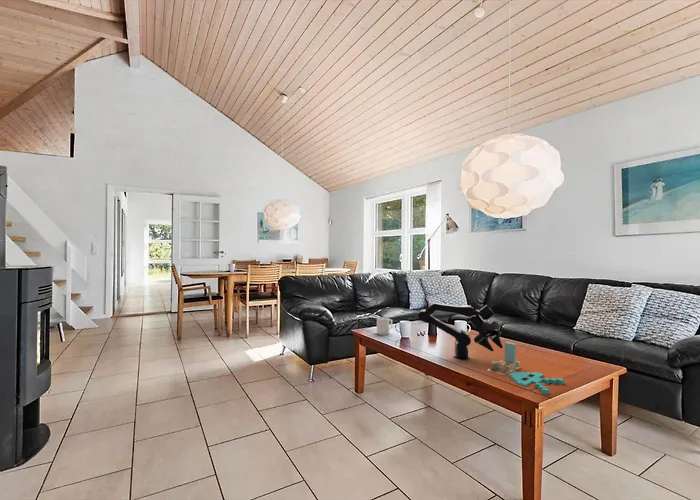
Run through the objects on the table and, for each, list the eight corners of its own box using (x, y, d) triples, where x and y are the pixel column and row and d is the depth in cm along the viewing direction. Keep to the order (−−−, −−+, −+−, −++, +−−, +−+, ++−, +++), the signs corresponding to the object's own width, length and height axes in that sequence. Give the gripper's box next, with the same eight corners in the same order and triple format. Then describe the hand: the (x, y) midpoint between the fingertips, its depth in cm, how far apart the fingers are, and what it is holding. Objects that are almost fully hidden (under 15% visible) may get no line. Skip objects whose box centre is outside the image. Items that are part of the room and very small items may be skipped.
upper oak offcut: (491, 366, 186) (491, 362, 186) (494, 364, 189) (494, 360, 189) (503, 369, 182) (503, 365, 182) (506, 367, 185) (506, 363, 185)
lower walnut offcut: (490, 369, 187) (490, 365, 187) (494, 368, 189) (494, 364, 189) (503, 373, 181) (503, 369, 181) (507, 371, 184) (507, 367, 184)
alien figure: (564, 384, 172) (520, 372, 187) (564, 379, 172) (520, 368, 187) (547, 395, 159) (501, 382, 174) (547, 390, 159) (501, 377, 174)
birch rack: (486, 371, 186) (486, 365, 186) (504, 364, 198) (504, 358, 198) (503, 376, 179) (503, 369, 179) (521, 369, 191) (521, 362, 191)
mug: (380, 335, 258) (380, 320, 258) (374, 333, 266) (374, 317, 266) (395, 334, 264) (395, 318, 264) (388, 331, 272) (388, 316, 272)
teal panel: (504, 365, 194) (504, 342, 194) (506, 364, 195) (506, 341, 195) (513, 367, 190) (514, 344, 190) (515, 367, 191) (516, 343, 191)
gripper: (479, 318, 195) (498, 344, 187) (498, 314, 207) (517, 338, 199) (466, 330, 202) (484, 355, 193) (485, 326, 213) (502, 349, 205)
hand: (497, 349), depth 197 cm, fingers open, 9 cm apart
